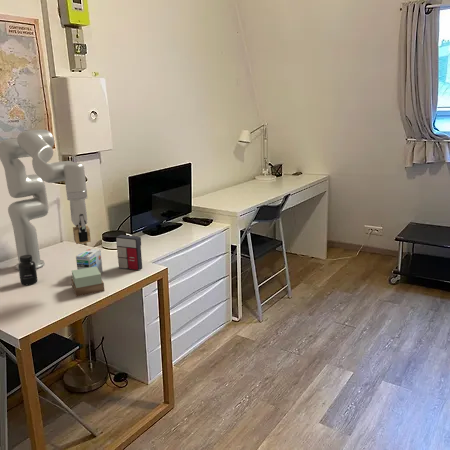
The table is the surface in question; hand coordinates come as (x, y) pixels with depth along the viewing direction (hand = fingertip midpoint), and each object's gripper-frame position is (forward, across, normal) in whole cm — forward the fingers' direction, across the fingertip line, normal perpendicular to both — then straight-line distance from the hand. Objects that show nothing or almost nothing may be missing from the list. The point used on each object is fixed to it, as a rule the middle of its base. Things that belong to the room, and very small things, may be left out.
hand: (82, 239), depth 183 cm
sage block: (+18, 0, 0) cm, 18 cm away
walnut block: (+22, 0, 0) cm, 22 cm away
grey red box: (+22, -15, +22) cm, 34 cm away
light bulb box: (+22, -15, +4) cm, 27 cm away
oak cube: (+1, 0, 0) cm, 1 cm away
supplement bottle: (+22, -20, -21) cm, 36 cm away
